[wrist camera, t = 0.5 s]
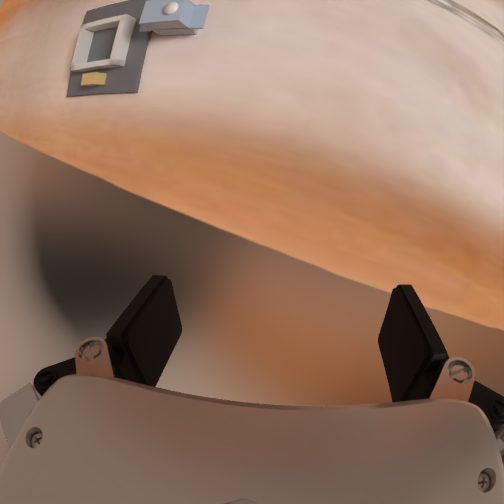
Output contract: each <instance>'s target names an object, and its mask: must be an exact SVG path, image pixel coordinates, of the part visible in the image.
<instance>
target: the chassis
mask: <svg viewBox="0 0 504 504" xmlns="http://www.w3.org/2000/svg"><path fill="white" fill-rule="evenodd" d="M146 1H148V0H129V1H124V2H120V3H115V4H111V5H107V6H104V7H100V8H97V9H93V10H90V11H87V13H86V16H85V19H84V22H83V25H81V29H80V32H79V36H78V39H77V43H76V47H75V51H74V55H73V60H72V64H71V69H70V71H71V74H70V79H69V85H68V92H67V97H69V96H79V95H90V94H104V93H138V88H139V83H140V77H141V72H142V68H143V63H144V58H145V54H146V50H147V46H148V42H149V38H150V34H151V31H145V32H140V31H139V29H140V26H141V25H140V24H139V21H140V18H141V15H142V12H143V9H144V6H145V3H146Z"/></svg>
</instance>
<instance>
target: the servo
mask: <svg viewBox="0 0 504 504" xmlns="http://www.w3.org/2000/svg"><path fill="white" fill-rule="evenodd" d="M209 7H210V6H209V5H194V4H193V3H192V2H191V1H190V0H148V1H146V3H145V6H144V9H143V12H142V15H141V18H140V21H139V24H140V25H141V26H140V29H139V31H140V32H145V31H154V32H155V33H157V34H159V35H161V36H163V35H197V31H198V29H203V28H204V24H205V21H206V17H207V14H208V10H209Z"/></svg>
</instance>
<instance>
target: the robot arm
mask: <svg viewBox="0 0 504 504" xmlns="http://www.w3.org/2000/svg"><path fill="white" fill-rule="evenodd" d="M181 332H182V325H181V321H180V317H179V313H178V309H177V305H176V300H175V296H174V291H173V287H172V283H171V280H170V279H168V278H167V276H162V275H153V276H152V277H151V278H150V279H149V281H148V282H147V283H146V284H145V286H144V287H143V288H142V289H141V290H140V292H139V293H138V294H137V295H136V297H135V298H134V299H133V300H132V302H131V303H130V304H129V305H128V307H127V308H126V309H125V310H124V312H123V313H122V314H121V316H120V317H119V318H118V319H117V321H116V322H115V323H114V325H113V326H112V327H111V329H110V330H109V331H108V333H107V334H106V335H107V338H106V339H105V340H103V339H101V338H97V337H93V338H89V339H87V340H84V341H83V342H82V343H80V344H79V346H78V347H77V349H76V351H75V357H74V358H72V359H69V360H66V361H63V362H60V363H58V364H55V365H52V366H49V367H46V368H44V369H42V370H40V371H39V372H38V373H37V375H36V376H35V378H34V384H33V385H32V384H31V383H29V384H27V385H26V386H24V387H23V388H21V389H20V390H18V391H17V392H15V393H13V394H12V395H11V396H9V397H8V398H6V399H5V400H3V401H2V402H1V404H0V421H1V424H2V427H3V430H4V433H5V436H6V439H7V441H8V444H9V447H10V450H9V452H8V454H7V456H6V459H5V461H4V463H3V465H2V468H1V470H0V504H504V397H503V396H502V395H500V394H498V393H496V392H494V391H493V390H491V389H489V388H487V387H485V386H483V385H482V384H480V383H478V382H477V381H475V370H474V368H473V366H472V365H471V364H470V363H469V362H468V361H467V360H465V359H463V358H460V357H453V358H450V359H449V357H448V354H447V351H446V349H445V347H444V345H443V343H442V341H441V339H440V337H439V335H438V333H437V331H436V329H435V327H434V325H433V323H432V321H431V319H430V317H429V315H428V314H427V312H426V310H425V308H424V306H423V304H422V303H421V301H420V299H419V297H418V296H417V294H416V292H415V290H414V289H413V287H412V286H411V285H398V286H397V287H396V288H394V289H393V291H392V294H391V298H390V302H389V305H388V308H387V311H386V315H385V318H384V321H383V324H382V327H381V330H380V333H379V337H378V344H379V348H380V352H381V355H382V359H383V363H384V367H385V371H386V375H387V379H388V383H389V387H390V392H391V397H392V401H393V402H392V403H381V404H367V405H350V406H290V405H288V406H287V405H271V404H259V403H248V402H238V401H230V400H223V399H216V398H209V397H202V396H196V395H191V394H185V393H181V392H175V391H171V390H166V389H162V388H157V387H155V386H156V384H157V382H158V380H159V378H160V376H161V374H162V372H163V370H164V368H165V366H166V364H167V362H168V360H169V357H170V355H171V353H172V351H173V349H174V347H175V345H176V343H177V341H178V339H179V337H180V335H181Z"/></svg>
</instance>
